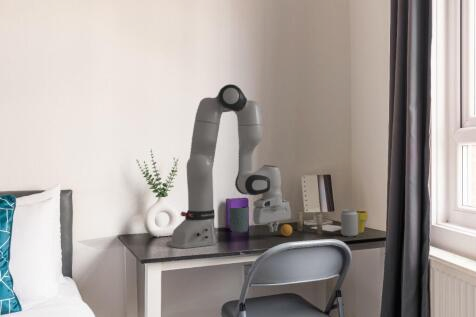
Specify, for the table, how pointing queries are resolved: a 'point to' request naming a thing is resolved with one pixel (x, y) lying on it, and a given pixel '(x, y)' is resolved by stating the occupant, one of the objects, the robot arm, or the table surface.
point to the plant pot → (361, 220)
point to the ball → (286, 230)
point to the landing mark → (329, 228)
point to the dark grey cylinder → (239, 219)
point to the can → (349, 223)
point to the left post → (299, 221)
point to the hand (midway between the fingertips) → (273, 231)
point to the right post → (319, 223)
